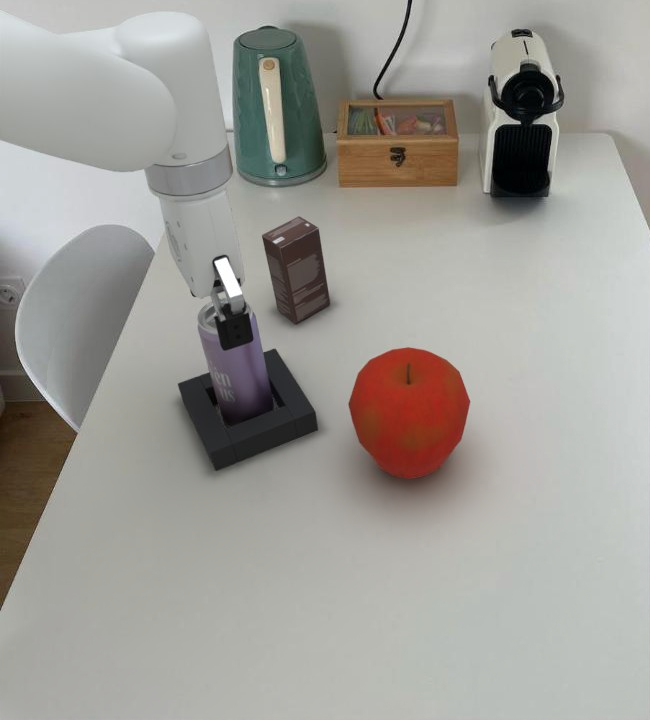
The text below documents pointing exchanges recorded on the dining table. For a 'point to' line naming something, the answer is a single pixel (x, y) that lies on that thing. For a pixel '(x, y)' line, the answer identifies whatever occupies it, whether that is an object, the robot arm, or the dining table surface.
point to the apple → (409, 411)
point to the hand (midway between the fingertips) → (221, 317)
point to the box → (297, 268)
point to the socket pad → (253, 433)
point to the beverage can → (236, 370)
